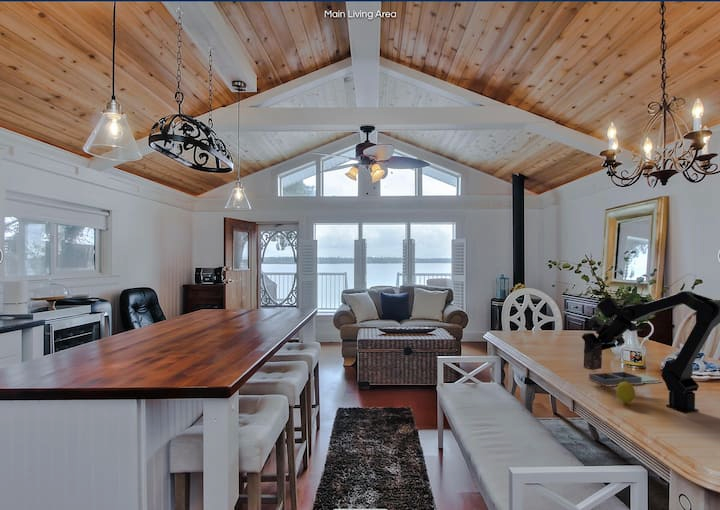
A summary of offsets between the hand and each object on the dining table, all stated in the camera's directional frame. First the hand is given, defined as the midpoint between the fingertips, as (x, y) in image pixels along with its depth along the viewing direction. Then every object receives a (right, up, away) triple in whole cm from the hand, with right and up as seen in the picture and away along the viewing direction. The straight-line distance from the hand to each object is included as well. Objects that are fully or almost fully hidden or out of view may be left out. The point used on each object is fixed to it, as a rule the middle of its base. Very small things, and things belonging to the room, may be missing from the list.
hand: (589, 351), depth 175 cm
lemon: (-2, -13, -26) cm, 29 cm away
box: (+1, -7, -1) cm, 7 cm away
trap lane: (+15, -12, +1) cm, 20 cm away
